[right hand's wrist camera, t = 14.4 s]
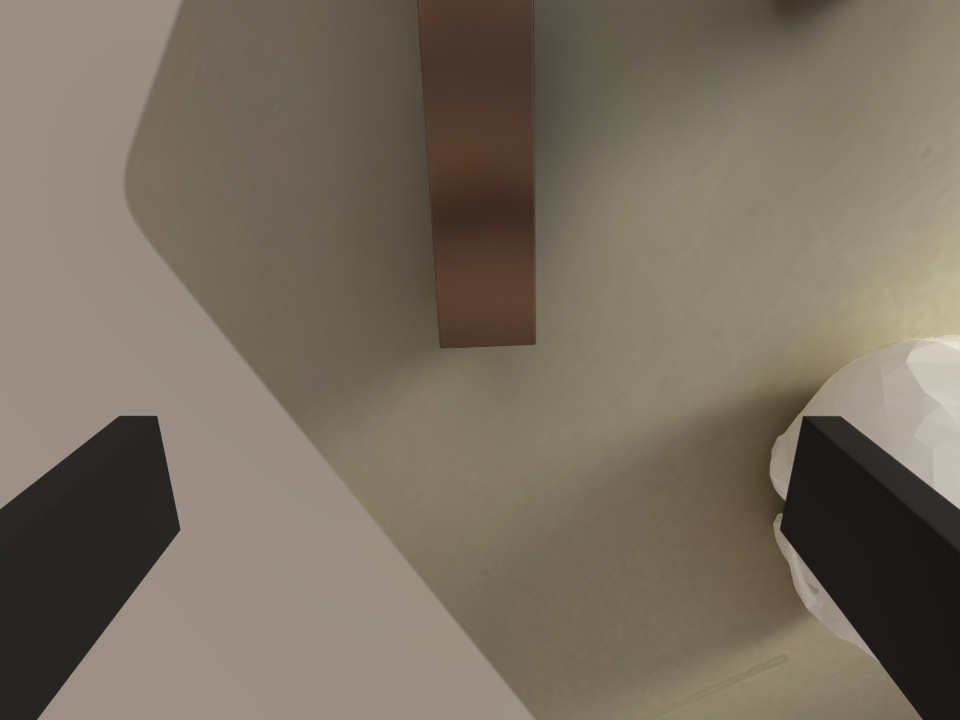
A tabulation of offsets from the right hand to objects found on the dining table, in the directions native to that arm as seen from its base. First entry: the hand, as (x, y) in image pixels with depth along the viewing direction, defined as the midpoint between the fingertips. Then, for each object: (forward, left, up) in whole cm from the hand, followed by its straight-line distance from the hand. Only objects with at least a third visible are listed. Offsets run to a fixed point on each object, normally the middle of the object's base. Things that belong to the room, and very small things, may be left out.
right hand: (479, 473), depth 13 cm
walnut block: (-9, 0, -23) cm, 25 cm away
